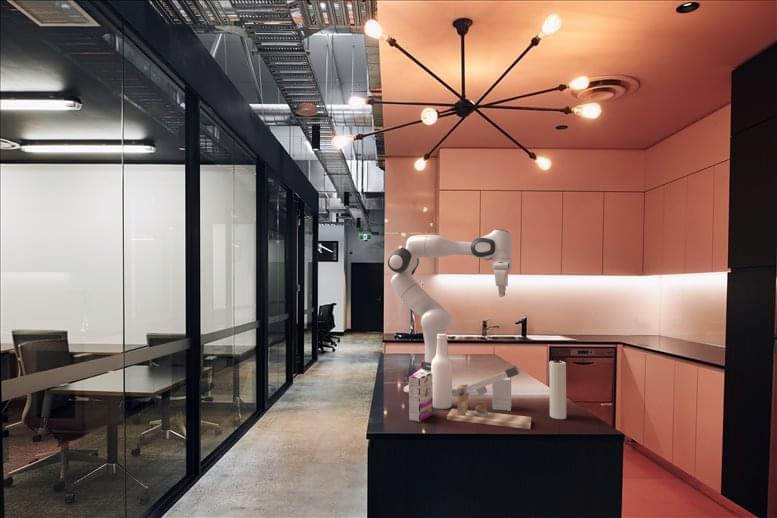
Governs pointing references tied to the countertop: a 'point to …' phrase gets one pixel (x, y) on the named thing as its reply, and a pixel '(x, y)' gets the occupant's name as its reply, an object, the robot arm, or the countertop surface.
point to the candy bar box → (420, 396)
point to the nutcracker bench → (486, 420)
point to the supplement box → (502, 394)
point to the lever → (492, 380)
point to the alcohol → (441, 375)
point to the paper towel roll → (557, 389)
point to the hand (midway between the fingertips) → (502, 296)
